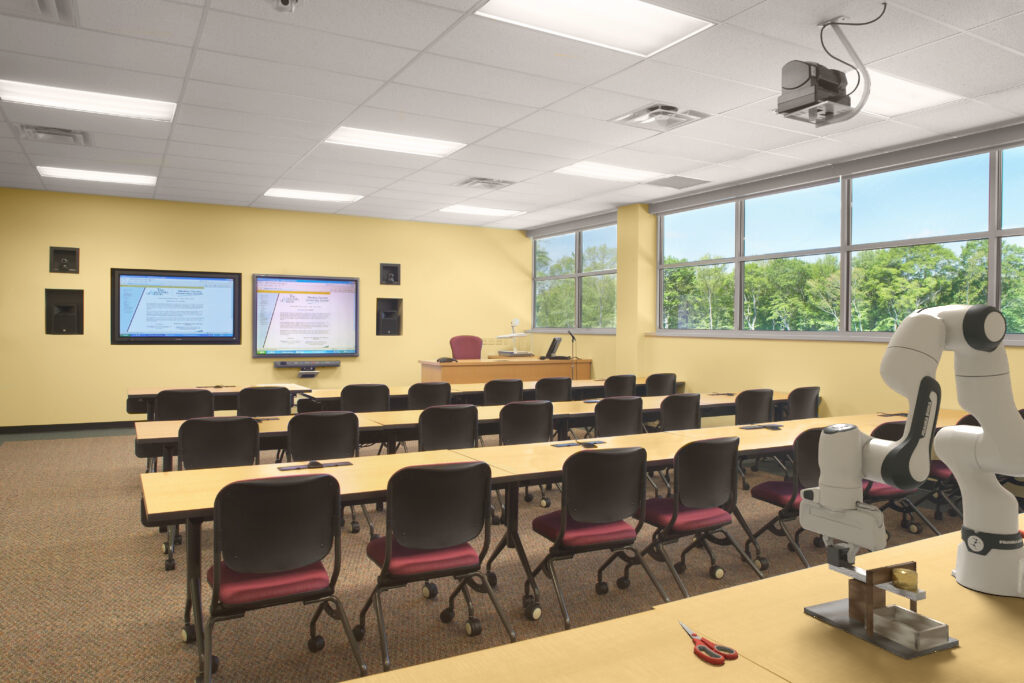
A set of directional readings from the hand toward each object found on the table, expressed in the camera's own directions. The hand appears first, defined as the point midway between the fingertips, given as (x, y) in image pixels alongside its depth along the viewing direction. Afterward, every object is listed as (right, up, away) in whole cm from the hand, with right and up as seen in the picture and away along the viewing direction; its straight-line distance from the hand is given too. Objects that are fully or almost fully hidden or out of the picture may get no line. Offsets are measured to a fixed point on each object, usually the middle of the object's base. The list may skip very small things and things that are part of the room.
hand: (841, 558), depth 147 cm
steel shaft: (+3, -3, -8) cm, 9 cm away
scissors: (-37, -13, -13) cm, 41 cm away
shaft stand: (+4, -12, -8) cm, 15 cm away
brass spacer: (+6, -1, -14) cm, 15 cm away
